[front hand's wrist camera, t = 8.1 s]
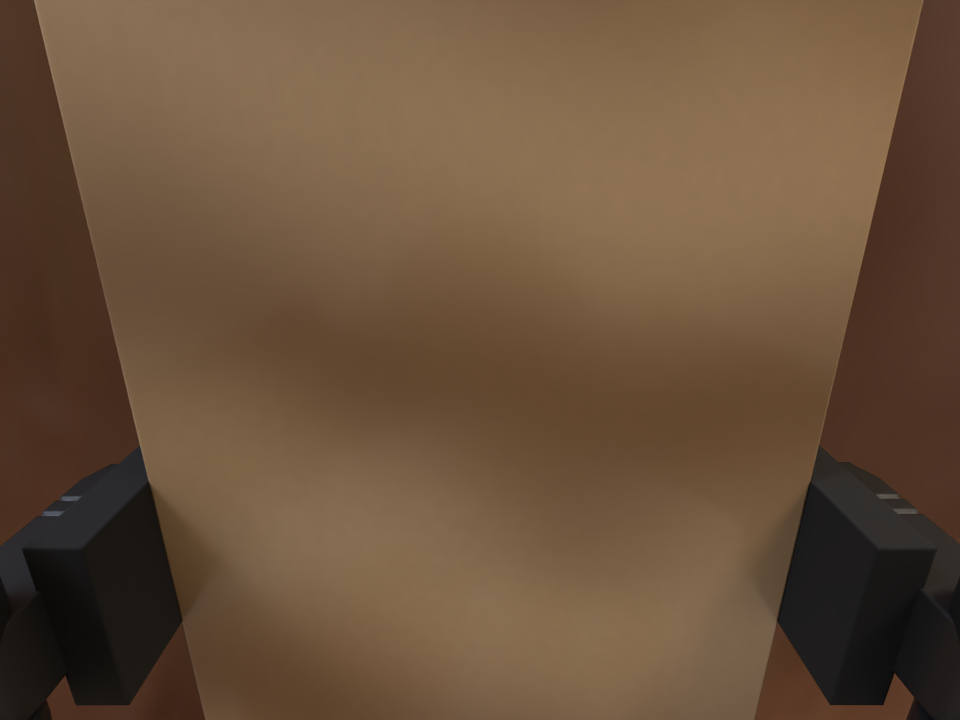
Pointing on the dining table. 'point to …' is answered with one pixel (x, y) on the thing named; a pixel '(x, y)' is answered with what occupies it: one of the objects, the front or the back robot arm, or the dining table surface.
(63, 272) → the dining table surface
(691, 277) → the tan wooden block
